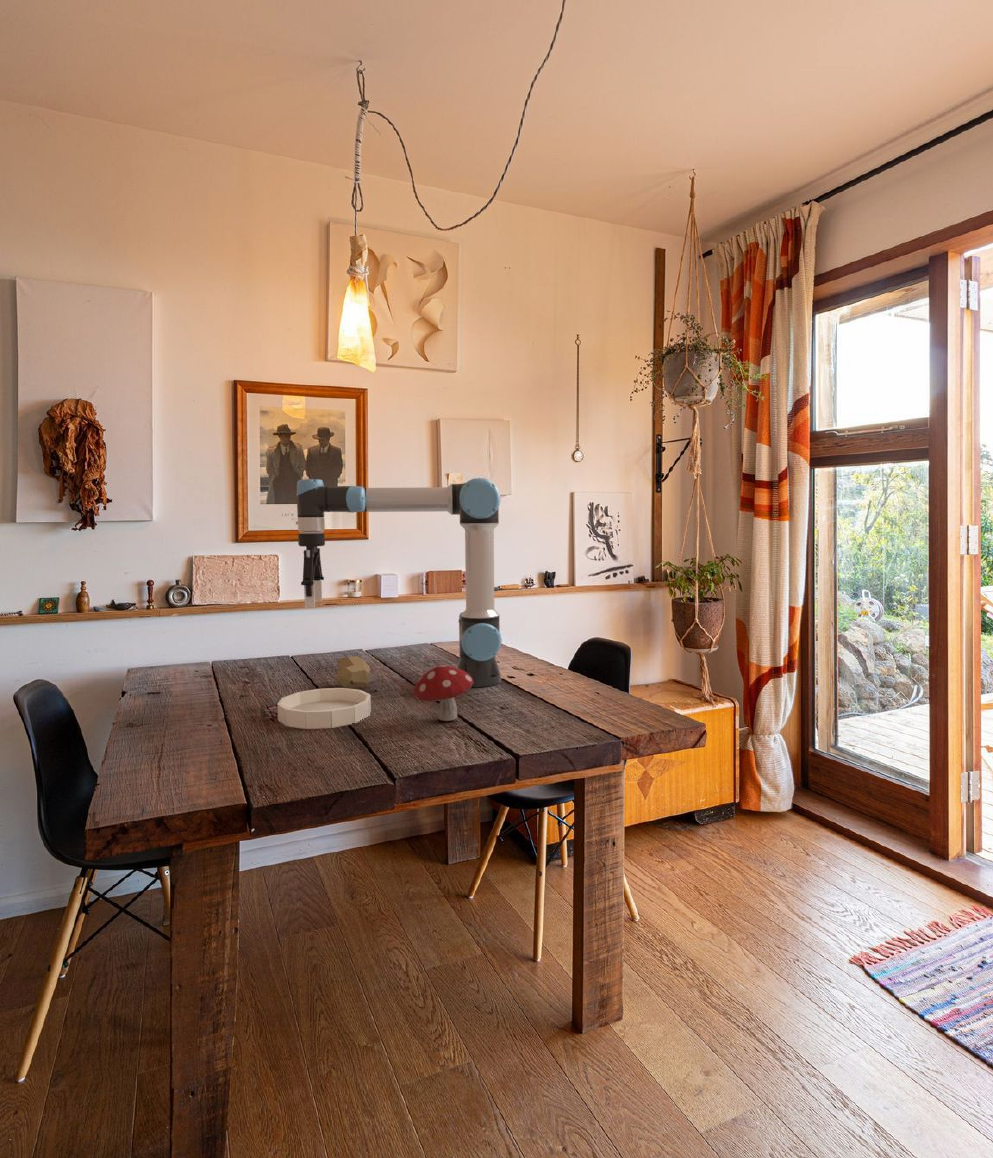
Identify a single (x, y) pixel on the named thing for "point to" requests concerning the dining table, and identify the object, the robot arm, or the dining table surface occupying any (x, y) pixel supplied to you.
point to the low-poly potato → (353, 672)
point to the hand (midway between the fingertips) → (313, 604)
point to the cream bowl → (324, 708)
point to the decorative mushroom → (443, 689)
